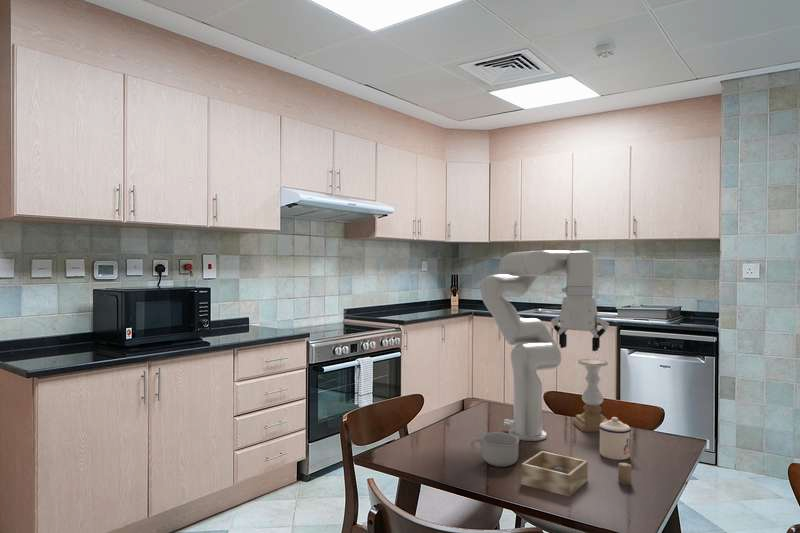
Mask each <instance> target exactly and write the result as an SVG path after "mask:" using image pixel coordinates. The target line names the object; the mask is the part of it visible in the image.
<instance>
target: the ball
mask: <svg viewBox="0 0 800 533" xmlns="http://www.w3.org/2000/svg"><path fill="white" fill-rule="evenodd" d="M553 471H557V472H562V473H565V471H564V470H563V469H562V468H561V467H556V468H554V470H553Z"/></svg>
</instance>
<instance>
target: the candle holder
mask: <svg viewBox="0 0 800 533" xmlns="http://www.w3.org/2000/svg"><path fill="white" fill-rule="evenodd" d="M577 364H579V365H581V366H584V368H585V369H586V371H587V375H586V376H585V378H584V379H585V381H586V383H587V386H586V389H585V390H584V391H583V393H582V394H581V395H582V396H581V399H582V401H583V403H585V404H584V405H583V410H584V412H582V413H581V414H575V417H573V418H572V425H574V426H575V427H577V429H579V430H580V431H581V432H587V433H597V432H598V433H600V428H599V425H600V424H601V423H602V422H607V421H609V420H610V419H607V418H606V417H605V416H604V415H603V414H602V413H600V412H602V407H601V404H602V403H603V402H604V396H603V394H602V391H601V390H600V389H599V387H598V384H599V382H600V381H601V378H600V376H599V371H600V370H601V367H606V366H608V364H609V362H608V361H606V360H603V359H598V358H597V359H596V358H582V359H581V358H580V359H578V360H577Z"/></svg>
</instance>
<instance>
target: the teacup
mask: <svg viewBox="0 0 800 533" xmlns="http://www.w3.org/2000/svg"><path fill="white" fill-rule="evenodd" d="M475 442H479V445H480V447H481V450H479V449H477V448H476V446H475ZM519 442H520V440H519V439H518V438H517V437H516V436H514V435H512V434H509V432H502V431H501V432H500V431H494V432H493V431H492V432H487V433H486V432H485V433H484V434H483V435H482V436H481V437H478V436H475V437H472V438H471V439H470V447H471V449H472V451H473V452H475V453H476V454H478V455H479V456H480V457H481V459H483V460H484V461H485V462H486V463H487V464H489V465H490V466H493V467H497V468H499V467H500V468H504V467H510V466H512V465H514V464H515V463H516V462H517V460H518V458H519Z"/></svg>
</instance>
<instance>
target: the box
mask: <svg viewBox="0 0 800 533" xmlns="http://www.w3.org/2000/svg"><path fill="white" fill-rule="evenodd" d="M588 463H589V462H588V460H584V459H580V458H575V457H571V456H566V455H561V454H558V453H557V454H556V453H552V452H549V451H544V450H541V451H539V452H538V453H536V454H535V455H533V456H531V457H529V459H526V460H525V461H524V462H522V463H521V466H520V467H521V477H520V478H521V480H520V482H521V483H520V484H521V485H523V486H527V487H530V488H533V489H539V490H543V491H546V492H550V493H554V494H557V495H560V496H561V495H562V496H565V497H567V498H568V497H569V498H570V497H571V496H572V495H573V494H575V493H576V492H577V491H578V490H579V489H580V488H581V487H582V486H584V485H585V483H587V482H588V473H589V472H588V471H589V470H588ZM556 467H561V468H562V469H563V470H564V471H565V473H562V472H557V471H553V470H554V468H556Z"/></svg>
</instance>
